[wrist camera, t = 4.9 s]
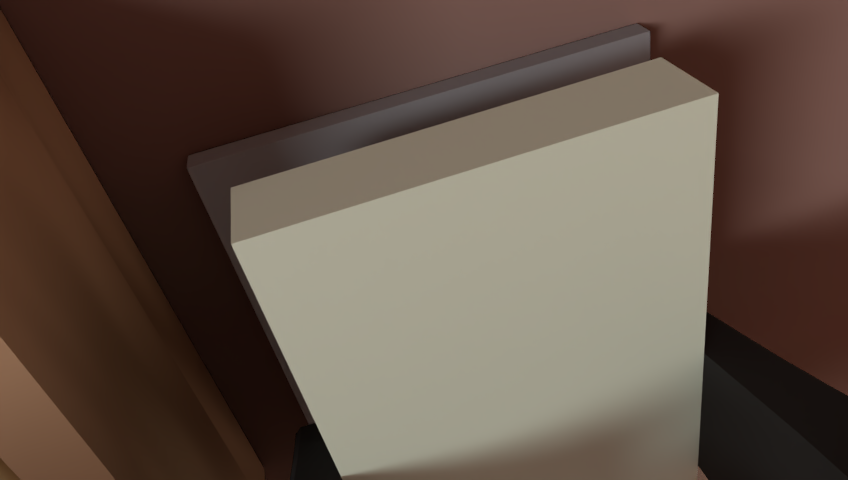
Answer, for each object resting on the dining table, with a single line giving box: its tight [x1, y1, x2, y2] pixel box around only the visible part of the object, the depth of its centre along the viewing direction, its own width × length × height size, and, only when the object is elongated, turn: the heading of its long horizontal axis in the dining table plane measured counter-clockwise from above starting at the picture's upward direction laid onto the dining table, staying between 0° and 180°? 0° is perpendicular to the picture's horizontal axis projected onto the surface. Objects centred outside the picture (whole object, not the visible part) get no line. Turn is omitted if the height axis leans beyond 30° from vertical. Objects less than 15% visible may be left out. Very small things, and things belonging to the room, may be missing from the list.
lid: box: [231, 57, 719, 480], centre depth 11 cm, size 11×5×1 cm, turn 12°
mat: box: [187, 24, 650, 425], centre depth 13 cm, size 10×7×1 cm
